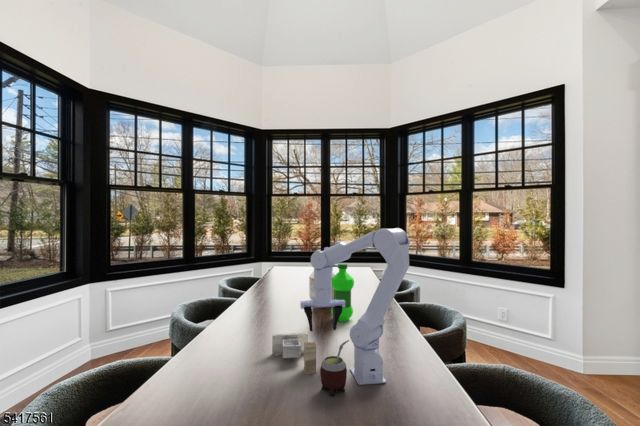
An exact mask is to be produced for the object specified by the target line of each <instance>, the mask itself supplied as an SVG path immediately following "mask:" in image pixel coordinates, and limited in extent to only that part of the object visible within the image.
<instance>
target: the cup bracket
mask: <svg viewBox="0 0 640 426" xmlns="http://www.w3.org/2000/svg"><path fill="white" fill-rule="evenodd" d="M304 342H309V333H308V332H296V333H295V332H293V333H276V334H274V333H273V334H272V339H271V343H272V345H271V346H272V349H271V350H272V351H271V353H272V355H271V356H282V359H291V358H292V359H293V358H301V357H302V354H304Z"/></svg>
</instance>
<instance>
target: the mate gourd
mask: <svg viewBox="0 0 640 426" xmlns="http://www.w3.org/2000/svg"><path fill="white" fill-rule="evenodd" d="M348 342H350V339H348V340H345V341H343V342H342V343H341V344H340V345H339V347H338V353H337V355H329V356H326V357H324V358H323V360H322V361H321V363H320V369H319V374H320V381H321V390H322V391H328V392H330V397H331V398H333V397H334V396H335V392H336V393H338V392H339V393H345V392H346V388H345V387H346V384H347V374H348V373H347V371H348V369H347V364H346V362H345V360H344V359H343V358H342V357H340V355H341V352H342V350H343V348H344V345H346V344H347V343H348Z"/></svg>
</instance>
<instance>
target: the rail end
mask: <svg viewBox="0 0 640 426" xmlns="http://www.w3.org/2000/svg"><path fill="white" fill-rule="evenodd" d="M303 354H304V355H303V358H304V359H303V366H304V367H303V370H304V374H305V375H307V374H308V375H309V374H317V343H316V342H315V341H308V342H304V353H303Z"/></svg>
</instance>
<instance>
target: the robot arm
mask: <svg viewBox="0 0 640 426" xmlns="http://www.w3.org/2000/svg"><path fill="white" fill-rule="evenodd" d="M410 243H411V241H410V239H409V237H408V235H407V233H406V231H405V230H403V229H402V228H400V227H395V228H380V229H379V228H378V230H373V231H370V232H368V233H366V234H364V235H362V236H360V237H357V238H356V239H354V240H352V241H350V242H348V243H347V242H345V241H340V240H339V241H338V240H337V241H336V242H334V245H332V246H329V247H328V246H326V247H323V250H315V251H314V252H313V253H312V255H311V256H310V264H311V266H312V267H313V272H314V273H313V275H314V277H313V282H314V283H313V286H314V287H313V299H310V300H308V299H307V300H301V301H300V303H299V304H300V305H299V307H300V309H301V310H304V314H305V316H306V318H307V321H308V326H309V327H308V329H309V332H313V309H314V308H318V309H319V308H331V309H332V308H333V315H332V329H333V331H337V326H338V323H339V321H338V319H339V317H340V315H341V313H342V310H343V309H342V307H345V301H344V300H334V298H332V294H333V293H332V290H333V288H332V278H333V277H332V276H333V275H332V273H333V271H334V270H333V268H334V266H335V265H338V264H341V263H342V262H344V261H347V260H349V259H350V258H351V256H352V254H353V253H356V252H359V251H361V250H364V249H367V248H369V247H371V248H372V249H373V248H376V250H377V251H378V252H379V253H380V255H381V256H382V257H383V259H384V260H385V262H386V265H387V266H386V269H385V270H384V273H383V274H382V277H381V279H380V281H379V283H378V285H377V287H376V289H375V292H374V294H373V295H372V298H371V299H370V302H369V304H368V306H367V308H366V311H365V312H364V313H363V314H362V315H361V316H360V318H359V319H358V320H357V322H356V324H354V325H352V326H351V328H350V330H349V338H350V339H349V340H350V341H351V342H352V344H353V349H354V350H353V351H354V352H353V357H354V358H353V362H354V363H353V364H354V365H353V366H352V367H350V368H349V369H350V372H351V373H352V375H353V377H354V379H355V381H356V382H357V384H358V385H359V386H362V385H363V386H365V385H375V384H386V383H387V380H386V379H385V377H384V376H383V375H384V374H383V373H384V370H383V369H384V368H383V367H384V366H383V365H384V361H383V358H382V357H383V356H381V354H380V338H382V336H383V334H384V325H385V323H386V320H385V319H384V318H385V316H386V314H387V311H388V309H389V308H390V307H391V303H392V301H393V300H394V298H395V296H396V294H397V292H398V290H399V288H400V286H401V284H402V281H403V280H404V277H406V274H407V272H408V269H409V267H410V254H409V252H410V250H409V249H410V248H409V247H410ZM312 308H313V309H312Z"/></svg>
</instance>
